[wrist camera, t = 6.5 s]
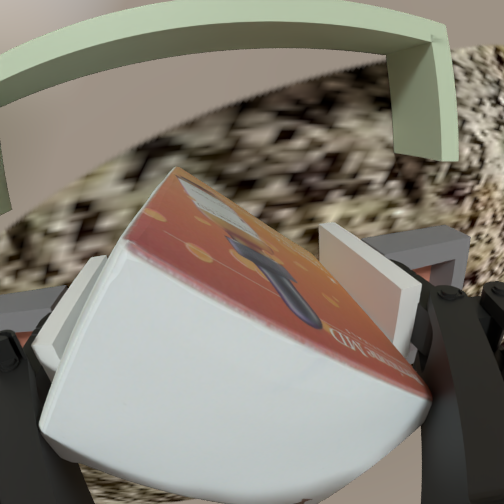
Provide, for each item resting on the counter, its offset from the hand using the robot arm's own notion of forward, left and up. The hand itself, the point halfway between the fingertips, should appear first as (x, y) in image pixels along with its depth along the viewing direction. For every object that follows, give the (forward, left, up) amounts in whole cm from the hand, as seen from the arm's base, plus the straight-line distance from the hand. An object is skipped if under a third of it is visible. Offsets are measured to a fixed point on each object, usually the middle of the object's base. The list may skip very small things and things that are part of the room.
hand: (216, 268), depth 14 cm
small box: (0, 0, -1) cm, 1 cm away
